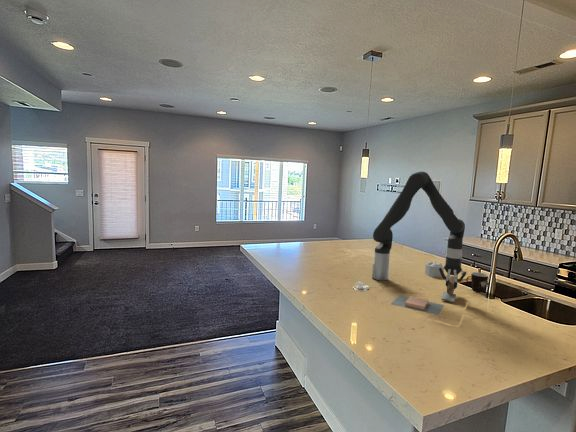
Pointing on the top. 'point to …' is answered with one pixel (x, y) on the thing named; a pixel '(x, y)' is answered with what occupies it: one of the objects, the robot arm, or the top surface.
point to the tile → (417, 303)
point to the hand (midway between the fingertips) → (451, 287)
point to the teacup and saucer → (360, 285)
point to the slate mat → (431, 308)
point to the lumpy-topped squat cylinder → (433, 269)
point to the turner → (449, 291)
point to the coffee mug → (478, 281)
